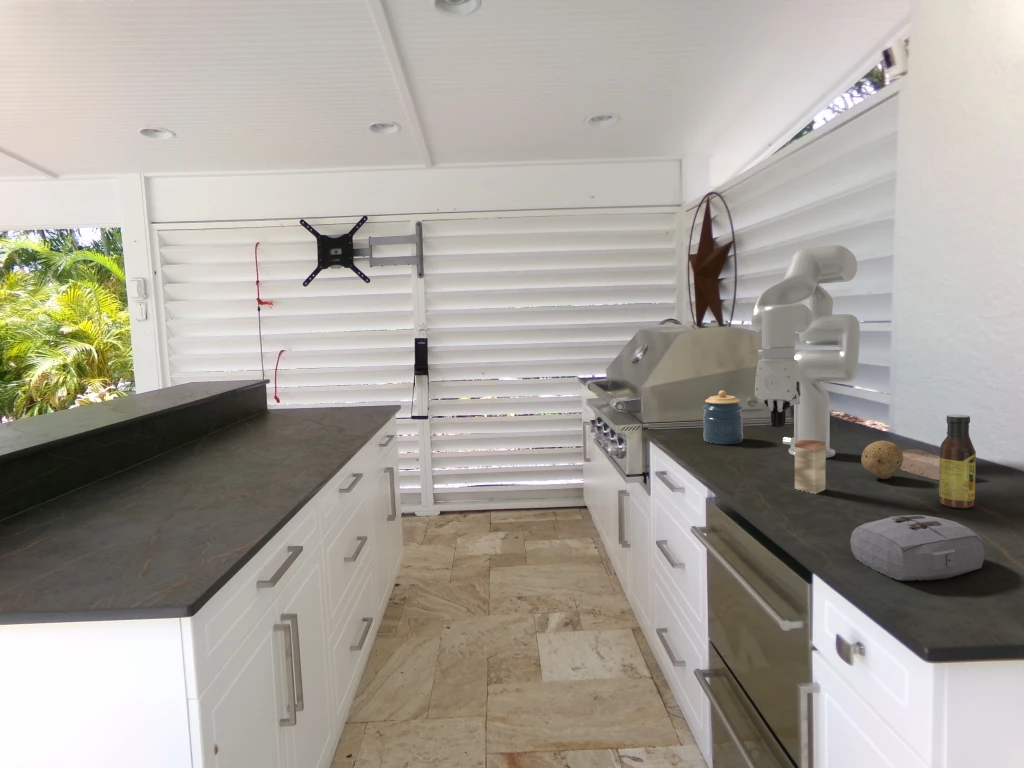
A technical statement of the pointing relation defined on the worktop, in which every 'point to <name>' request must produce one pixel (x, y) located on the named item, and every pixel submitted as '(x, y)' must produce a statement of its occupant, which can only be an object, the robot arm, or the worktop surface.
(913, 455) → the brick
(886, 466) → the natural sponge
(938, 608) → the worktop surface
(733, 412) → the canister
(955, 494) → the sauce bottle
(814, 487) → the maple block
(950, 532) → the soft grey pack
